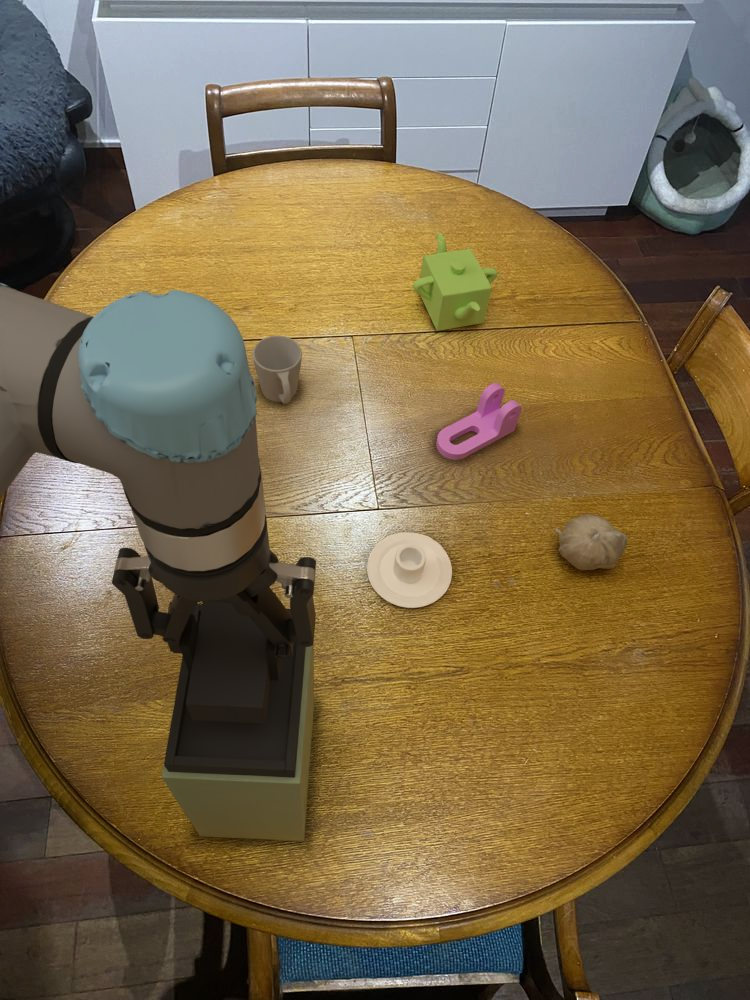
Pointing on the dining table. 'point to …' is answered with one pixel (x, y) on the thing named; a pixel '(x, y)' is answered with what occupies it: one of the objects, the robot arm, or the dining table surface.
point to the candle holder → (409, 569)
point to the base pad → (240, 730)
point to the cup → (278, 367)
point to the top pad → (228, 668)
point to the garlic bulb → (591, 542)
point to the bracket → (480, 425)
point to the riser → (252, 790)
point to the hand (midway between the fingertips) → (236, 663)
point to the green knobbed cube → (454, 287)
